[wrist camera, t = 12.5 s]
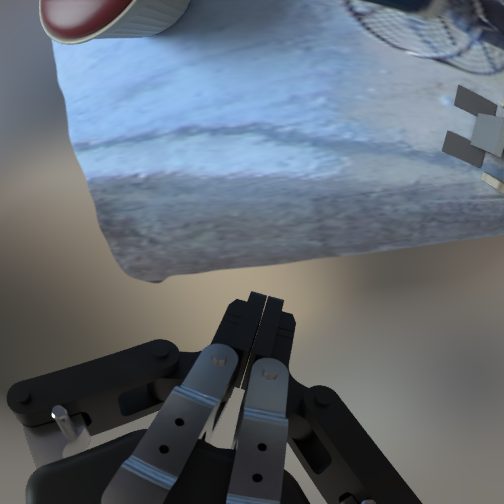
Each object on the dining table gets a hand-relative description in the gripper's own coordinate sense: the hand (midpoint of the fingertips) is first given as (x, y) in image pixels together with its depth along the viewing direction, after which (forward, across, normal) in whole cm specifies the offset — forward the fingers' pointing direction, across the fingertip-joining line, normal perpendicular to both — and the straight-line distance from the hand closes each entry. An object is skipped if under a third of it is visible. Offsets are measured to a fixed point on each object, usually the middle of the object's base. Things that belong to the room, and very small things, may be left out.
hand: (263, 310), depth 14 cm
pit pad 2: (+33, -22, -9) cm, 41 cm away
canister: (+33, +27, -22) cm, 48 cm away
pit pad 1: (+33, -22, -17) cm, 43 cm away
